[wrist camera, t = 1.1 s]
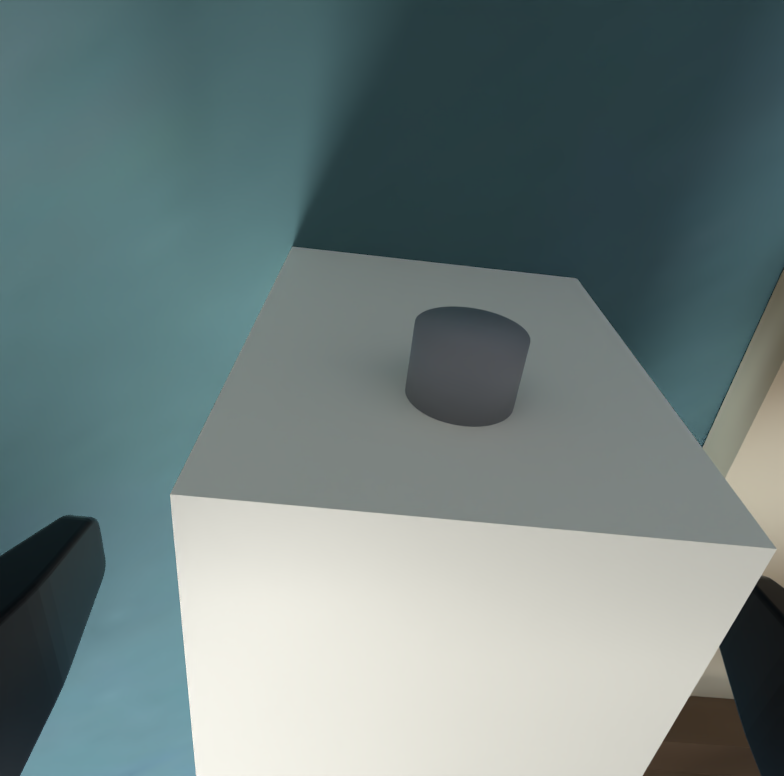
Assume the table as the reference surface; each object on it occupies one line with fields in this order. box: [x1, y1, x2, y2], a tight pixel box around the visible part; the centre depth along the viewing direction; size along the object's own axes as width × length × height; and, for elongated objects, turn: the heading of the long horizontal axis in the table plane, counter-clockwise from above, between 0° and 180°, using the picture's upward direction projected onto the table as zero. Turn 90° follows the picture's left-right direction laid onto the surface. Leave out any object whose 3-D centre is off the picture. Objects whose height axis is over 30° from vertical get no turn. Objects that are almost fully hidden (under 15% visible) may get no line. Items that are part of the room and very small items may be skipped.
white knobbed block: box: [170, 247, 777, 776], centre depth 9 cm, size 7×5×6 cm
